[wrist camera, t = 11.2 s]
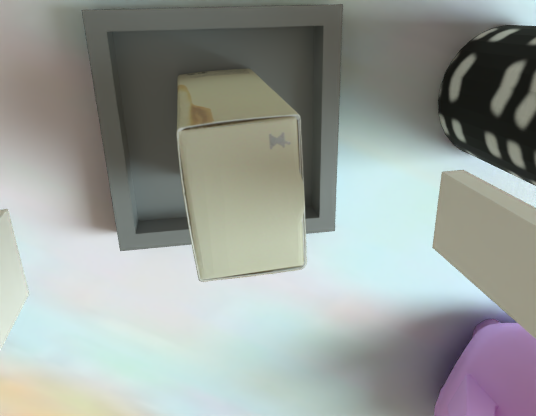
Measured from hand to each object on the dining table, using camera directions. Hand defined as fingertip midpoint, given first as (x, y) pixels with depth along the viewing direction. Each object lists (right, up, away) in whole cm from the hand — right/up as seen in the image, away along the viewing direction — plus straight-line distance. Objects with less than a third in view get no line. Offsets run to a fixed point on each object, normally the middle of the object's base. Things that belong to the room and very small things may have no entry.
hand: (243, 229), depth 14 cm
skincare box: (-2, +6, +13) cm, 15 cm away
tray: (-2, +6, +14) cm, 15 cm away
